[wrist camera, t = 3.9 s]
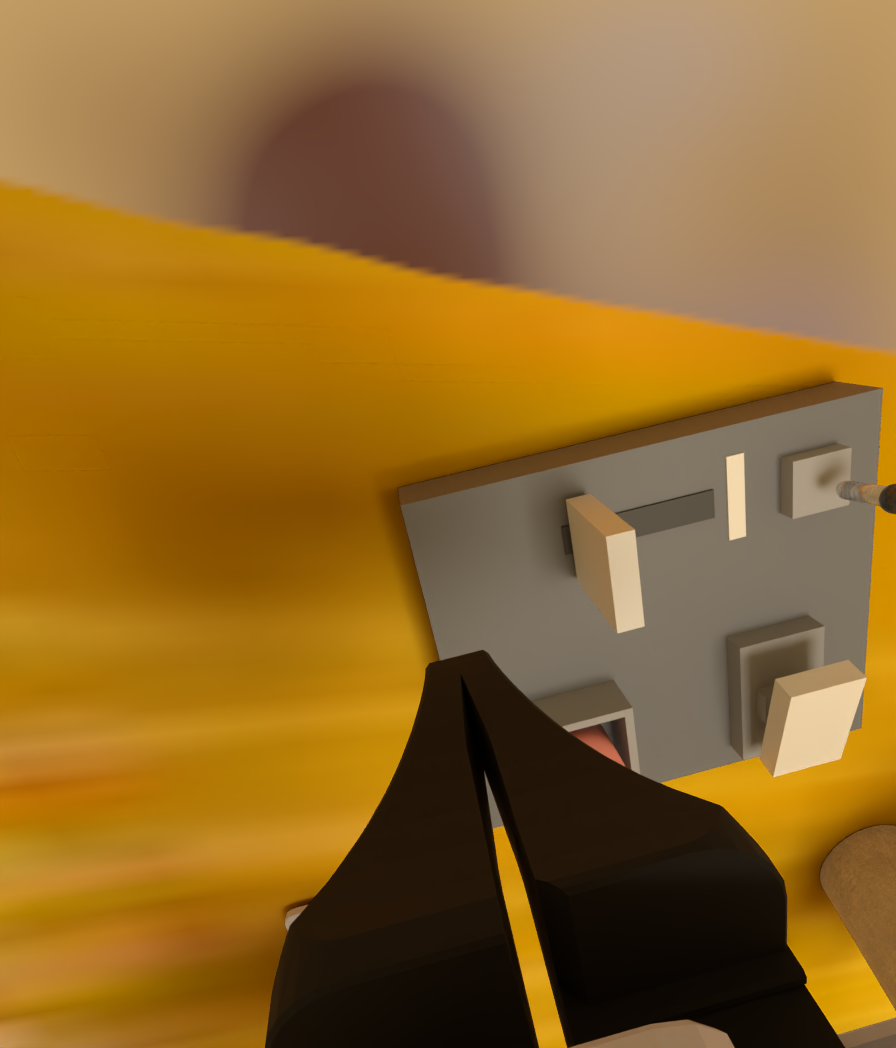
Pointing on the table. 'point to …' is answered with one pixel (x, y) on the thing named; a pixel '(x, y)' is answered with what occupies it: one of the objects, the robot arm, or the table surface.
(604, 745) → the red push button
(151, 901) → the table surface
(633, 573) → the tan flat upright block
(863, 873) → the house plant
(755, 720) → the switch panel
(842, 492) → the steel toggle lever
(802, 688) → the block
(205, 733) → the table surface
